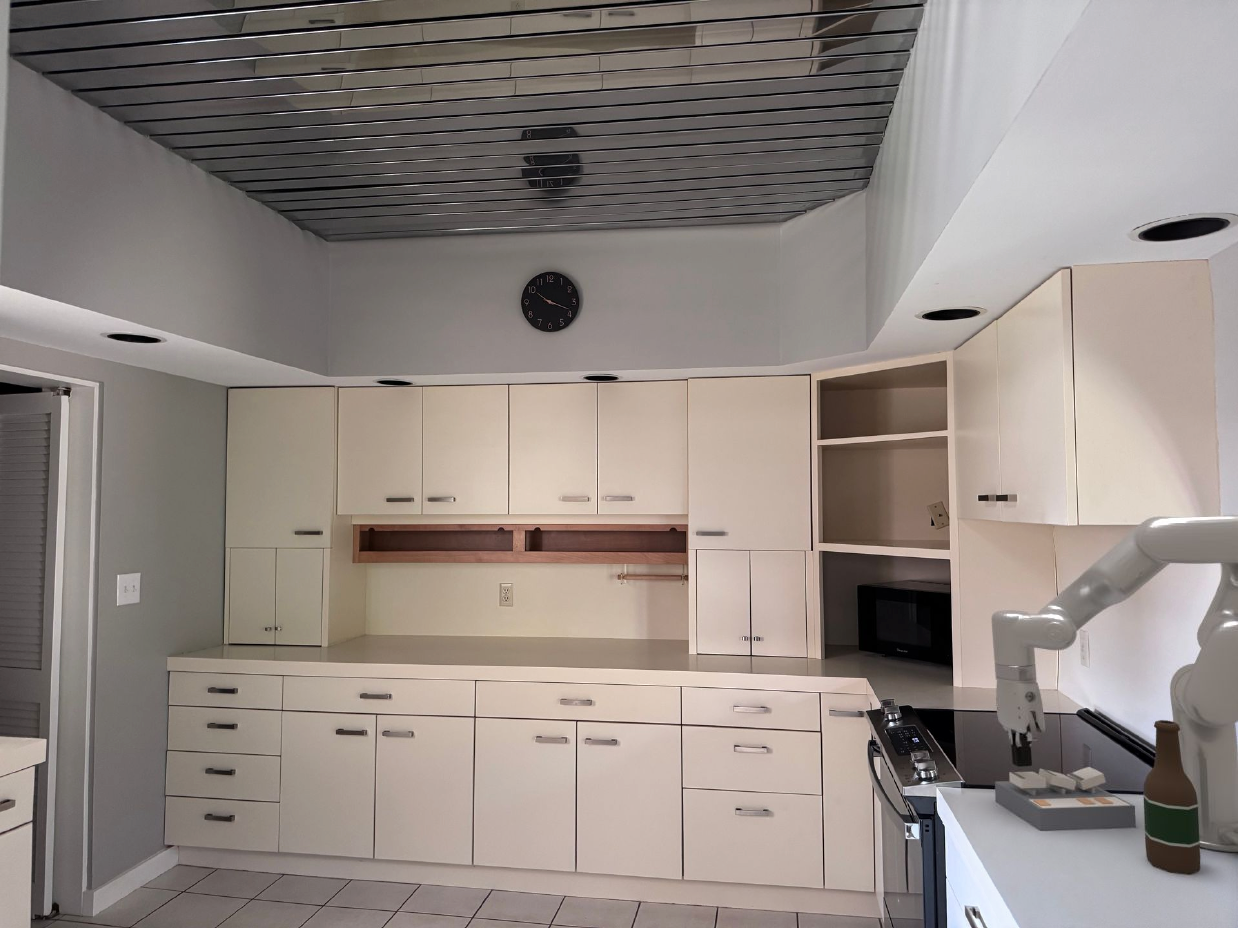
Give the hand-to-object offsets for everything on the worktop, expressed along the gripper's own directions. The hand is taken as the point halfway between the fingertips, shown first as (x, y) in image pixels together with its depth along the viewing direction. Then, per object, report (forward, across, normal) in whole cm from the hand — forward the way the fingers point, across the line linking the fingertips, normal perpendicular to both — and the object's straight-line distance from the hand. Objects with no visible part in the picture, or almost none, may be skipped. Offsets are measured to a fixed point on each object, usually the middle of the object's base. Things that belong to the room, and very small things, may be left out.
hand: (1022, 764), depth 165 cm
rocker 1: (+3, 0, -1) cm, 3 cm away
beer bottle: (+10, -25, -11) cm, 30 cm away
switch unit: (+10, -1, -7) cm, 12 cm away
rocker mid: (+3, 0, -7) cm, 8 cm away
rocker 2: (+4, 0, -14) cm, 14 cm away
